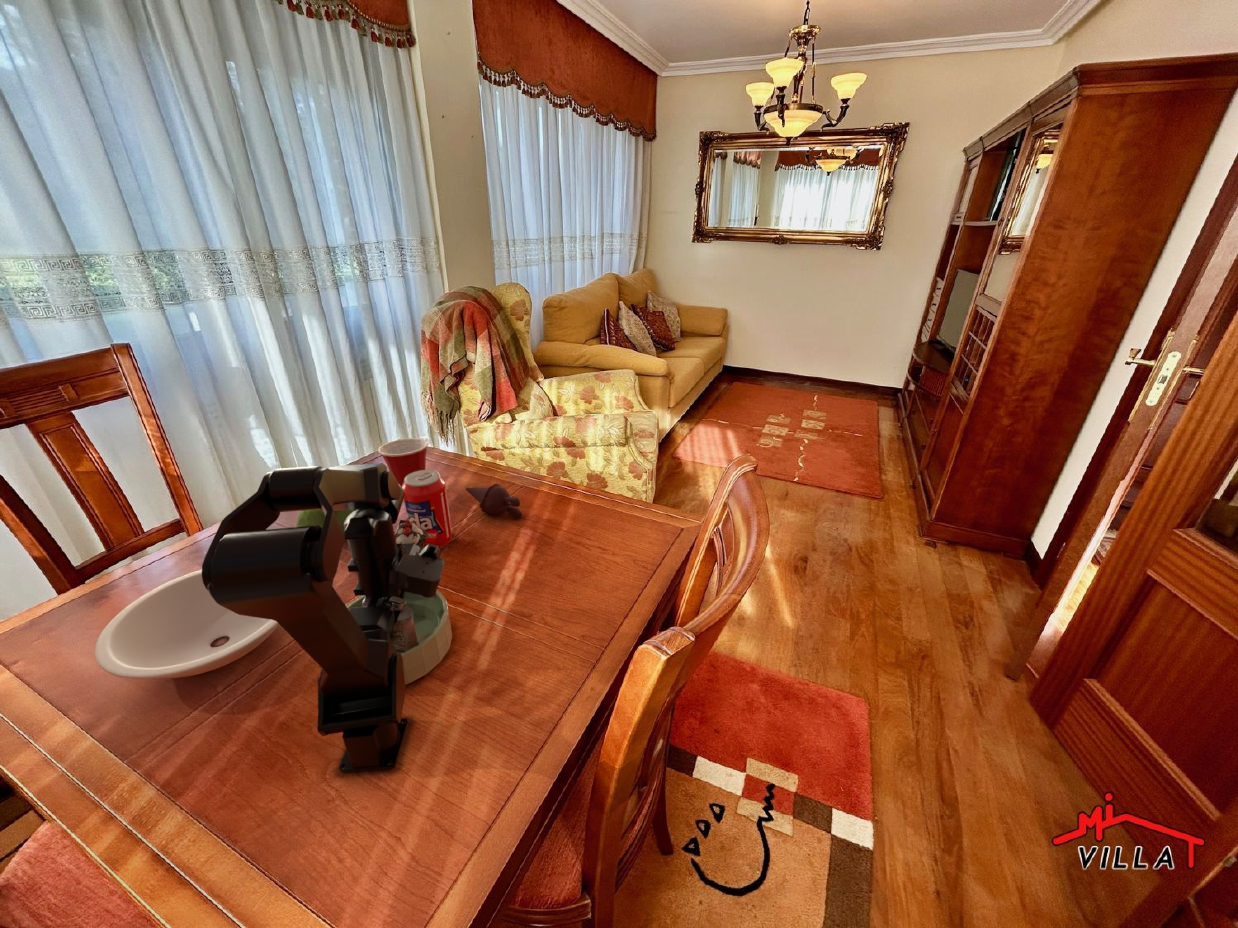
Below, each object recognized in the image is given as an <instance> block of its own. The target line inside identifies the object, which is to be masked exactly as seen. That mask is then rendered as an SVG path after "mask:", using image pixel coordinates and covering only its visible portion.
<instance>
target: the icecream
mask: <svg viewBox="0 0 1238 928" xmlns="http://www.w3.org/2000/svg"><path fill="white" fill-rule="evenodd" d="M465 490H466V491H467V492H468V493H469V495H471V496H472V497H473V498H474V499H475V500H476V501H477V502H478V503H479V509H481V512H483V513H485V514H490V515H501V514H504V513H506V512H507V513H508V514H509V515H511V516H513V517H514V518H517V519H522V518H523V512H522V511H521V510H520V509H519V508H518V507H519V506H520V505H521V500H520V498H519V497H517V496H514V495H513V496H511V495H510V492H509V491H508V490H507V489H506V488H505V487H503V486H502V485H500V484H498V483H494V484H493V485H491V486H487V487H486V486H484V487H483V486H481V487H480V486H479V487H466V488H465Z"/></svg>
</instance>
